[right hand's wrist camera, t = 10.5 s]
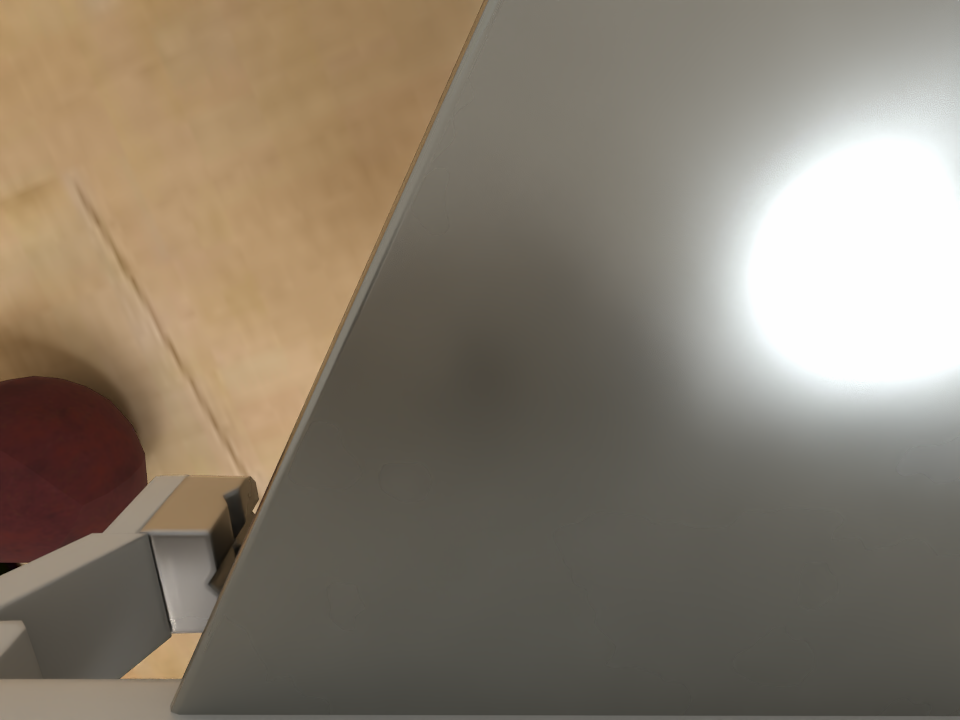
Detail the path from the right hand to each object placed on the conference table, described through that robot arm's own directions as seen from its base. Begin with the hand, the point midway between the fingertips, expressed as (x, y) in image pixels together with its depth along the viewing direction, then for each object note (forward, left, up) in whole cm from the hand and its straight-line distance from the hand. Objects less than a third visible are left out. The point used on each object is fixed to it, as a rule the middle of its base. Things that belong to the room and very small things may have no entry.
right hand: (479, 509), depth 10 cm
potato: (-17, +8, -16) cm, 25 cm away
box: (+7, +2, -5) cm, 9 cm away
